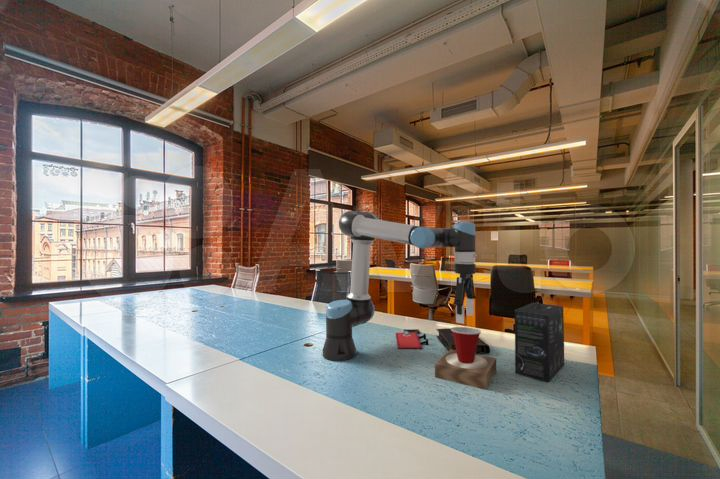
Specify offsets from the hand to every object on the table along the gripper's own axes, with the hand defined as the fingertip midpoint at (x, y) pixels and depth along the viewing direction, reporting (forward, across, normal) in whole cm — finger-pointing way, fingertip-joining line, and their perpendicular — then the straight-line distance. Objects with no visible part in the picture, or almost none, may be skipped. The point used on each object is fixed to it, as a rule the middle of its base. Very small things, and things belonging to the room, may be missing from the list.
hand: (465, 319), depth 117 cm
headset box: (+21, +20, -23) cm, 37 cm away
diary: (+22, +32, +11) cm, 40 cm away
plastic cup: (+16, 0, 0) cm, 16 cm away
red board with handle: (+22, +27, +35) cm, 49 cm away
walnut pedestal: (+21, 0, 0) cm, 21 cm away
